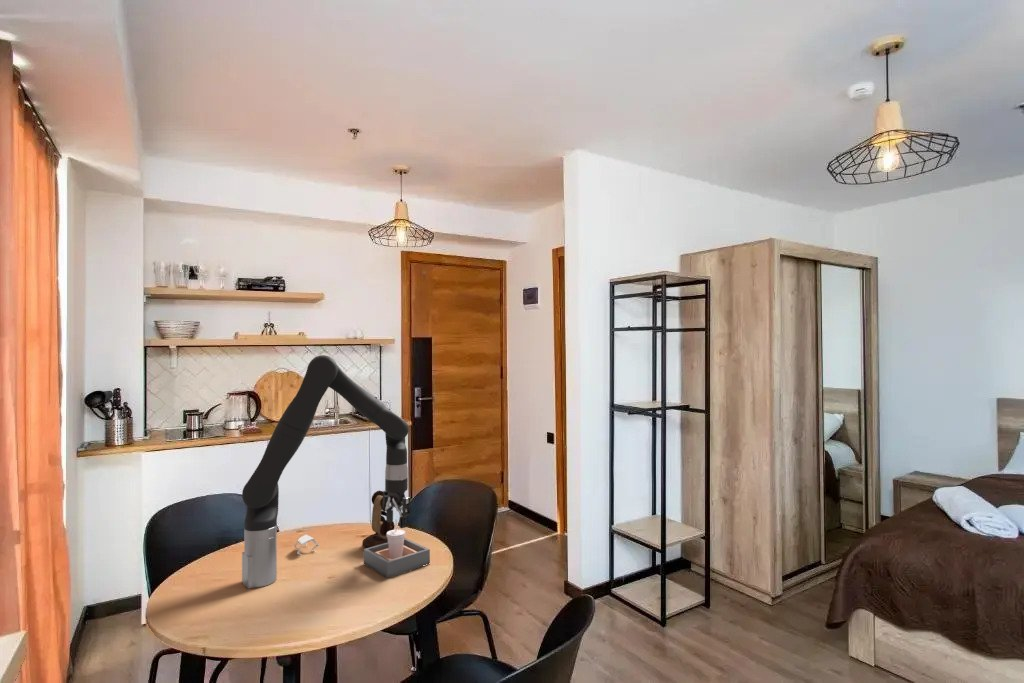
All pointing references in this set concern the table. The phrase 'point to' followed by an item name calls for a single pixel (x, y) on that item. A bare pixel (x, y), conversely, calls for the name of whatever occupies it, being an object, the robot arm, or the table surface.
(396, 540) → the smoothie
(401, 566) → the socket box
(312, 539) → the origami figure
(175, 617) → the table surface
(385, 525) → the scroll
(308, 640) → the table surface
